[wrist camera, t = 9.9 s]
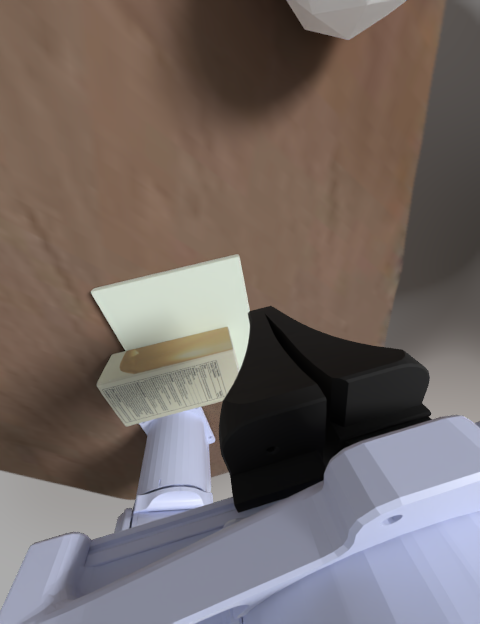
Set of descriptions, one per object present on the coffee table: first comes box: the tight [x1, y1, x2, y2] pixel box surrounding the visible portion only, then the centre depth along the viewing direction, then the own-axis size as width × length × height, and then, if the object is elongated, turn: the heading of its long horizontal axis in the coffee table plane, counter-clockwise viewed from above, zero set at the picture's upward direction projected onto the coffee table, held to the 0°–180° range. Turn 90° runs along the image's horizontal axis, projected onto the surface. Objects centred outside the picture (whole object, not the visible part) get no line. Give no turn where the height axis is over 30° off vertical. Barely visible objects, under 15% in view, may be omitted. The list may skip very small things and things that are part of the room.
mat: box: [91, 254, 250, 370], centre depth 23 cm, size 14×13×1 cm
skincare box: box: [97, 327, 240, 426], centre depth 22 cm, size 6×4×12 cm
